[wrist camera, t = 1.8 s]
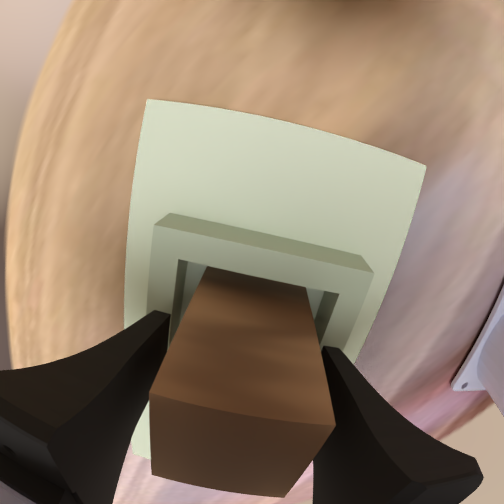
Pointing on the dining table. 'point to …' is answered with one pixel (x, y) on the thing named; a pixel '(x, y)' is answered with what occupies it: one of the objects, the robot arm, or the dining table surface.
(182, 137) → the pocket board
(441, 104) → the dining table surface
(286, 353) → the walnut post
